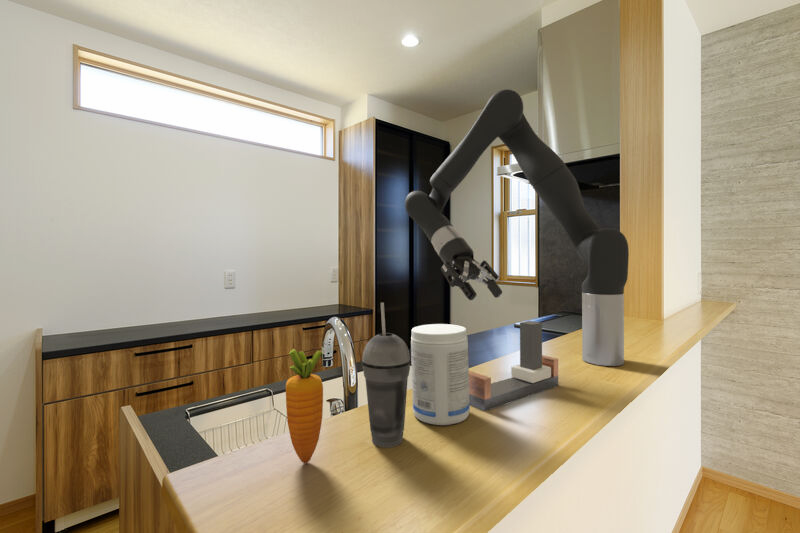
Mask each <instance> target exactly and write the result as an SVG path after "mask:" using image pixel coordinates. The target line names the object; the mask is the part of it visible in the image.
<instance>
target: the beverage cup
mask: <svg viewBox="0 0 800 533" xmlns="http://www.w3.org/2000/svg"><path fill="white" fill-rule="evenodd" d="M380 313H381V314H380V315H381V330H382V331H381V332H382V333H381V332H380V333H378V334H376V335H375V336H372V337H371V339H370V340H369V341H368V342H367V343H366V344H365V347H364V349H363V352H362V360H361V361H360V362H361V365H362V372H363V376H364V378H365V380H364V381H365V387H366V388H365V390H366V397H367V398H366V399H367V408H368V409H367V410H368V418H369V419H368V420H369V428H370V429H369V430H370V435H371V442H372V444H373V445H374V446H376V447H380V448H384V449H386V448H394V447H397V446H399V445H401V444H402V443H403V439H404V438H403V437H404V431H405V423H406V422H405V421H406V420H405V418H406V405H407V391H408V380H409V375H410V370H411V364H412V363H411V353H410V351H409V347H408V346H407V344H406V342H405V341H404V340H403V339H402V338H401V337H400V336H398V335H396V334H394V333H391V332H386V318H385V316H386V314H385V302H380Z"/></svg>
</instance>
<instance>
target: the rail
mask: <svg viewBox="0 0 800 533" xmlns="http://www.w3.org/2000/svg"><path fill="white" fill-rule="evenodd" d="M542 365H544V366H548V367H551V377H550V378H547V379H544V380H541V381H538V382H535V383H531V382H527V381H524V380H521V379H518V378H514V377H508V378H505V379H502V380H499V381H495V382H492V377H489V376H488V375H487V376H486V375H483V374H480V373H477V372H474V371H471V370H469V404H470V406H471V407H472V408H473V407H474V408H475V409H477V410H481V411H483V412H487V411H491V410H493V409H496V408H499V407H501V406H504V405H507V404H510V403H512V402H515V401H518V400H522V399H524V398H527V397H531V396H532V395H535V394H538V393H541V392H544V391H547V390H550V389H552V388H556V387H558V386H559V358H556V357H551V356H547V355H543V354H542Z"/></svg>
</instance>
